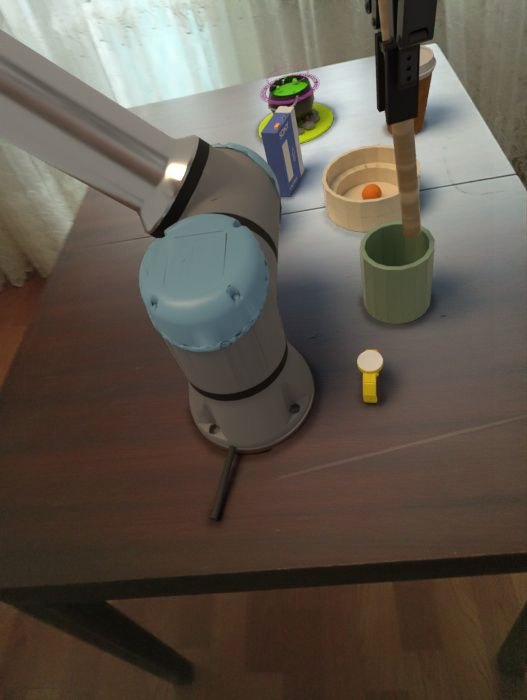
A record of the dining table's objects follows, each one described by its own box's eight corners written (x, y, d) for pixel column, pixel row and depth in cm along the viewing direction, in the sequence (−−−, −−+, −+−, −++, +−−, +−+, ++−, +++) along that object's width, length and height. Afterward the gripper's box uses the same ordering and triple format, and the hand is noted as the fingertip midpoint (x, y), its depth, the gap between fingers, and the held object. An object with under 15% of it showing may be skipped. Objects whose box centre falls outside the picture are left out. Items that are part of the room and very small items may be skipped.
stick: (421, 237, 56) (402, -29, 36) (403, 239, 57) (374, -21, 37) (421, 225, 57) (402, -39, 37) (403, 227, 58) (375, -32, 38)
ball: (369, 194, 80) (375, 209, 79) (355, 191, 78) (361, 206, 77) (381, 181, 77) (388, 197, 76) (368, 178, 76) (374, 193, 75)
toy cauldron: (249, 121, 103) (236, 66, 95) (316, 96, 104) (309, 39, 95) (271, 154, 94) (259, 96, 85) (345, 127, 94) (340, 66, 86)
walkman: (289, 197, 85) (276, 130, 75) (274, 196, 86) (259, 130, 76) (305, 169, 89) (294, 103, 79) (291, 169, 90) (278, 103, 80)
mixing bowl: (432, 219, 74) (434, 184, 69) (339, 245, 75) (335, 212, 70) (400, 169, 83) (400, 135, 78) (317, 192, 84) (313, 160, 79)
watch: (361, 367, 61) (358, 337, 56) (385, 368, 60) (384, 337, 55) (358, 410, 57) (355, 381, 53) (383, 411, 56) (382, 382, 52)
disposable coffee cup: (374, 142, 89) (371, 73, 80) (382, 114, 94) (380, 46, 85) (429, 141, 86) (433, 69, 77) (435, 111, 91) (439, 40, 82)
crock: (440, 316, 63) (446, 257, 55) (375, 333, 63) (372, 277, 56) (416, 273, 68) (419, 213, 60) (356, 289, 69) (351, 232, 61)
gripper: (531, -337, 23) (471, 141, 41) (414, -309, 32) (408, 68, 50) (371, -282, 23) (382, 166, 41) (302, -271, 33) (336, 90, 51)
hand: (396, 112), depth 46 cm, fingers closed on stick, 2 cm apart
